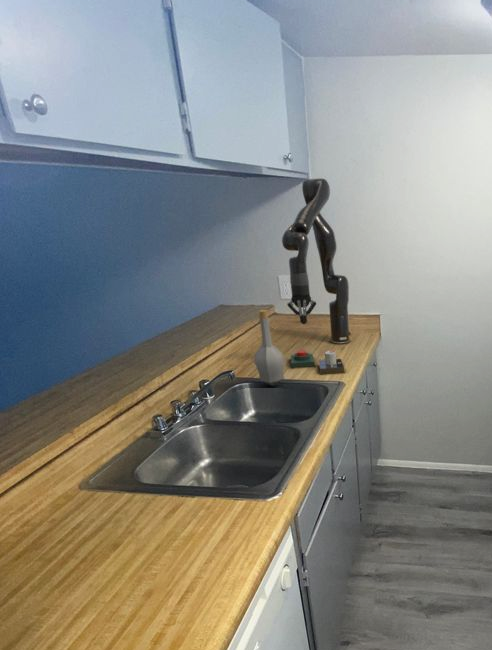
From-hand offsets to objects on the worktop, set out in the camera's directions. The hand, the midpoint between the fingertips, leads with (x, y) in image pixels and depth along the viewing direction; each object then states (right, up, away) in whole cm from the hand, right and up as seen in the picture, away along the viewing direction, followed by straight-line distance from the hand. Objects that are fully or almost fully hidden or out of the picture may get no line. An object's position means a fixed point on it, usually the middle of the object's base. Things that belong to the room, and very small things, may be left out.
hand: (303, 323), depth 209 cm
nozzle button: (-2, -13, +5) cm, 14 cm away
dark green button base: (-2, -16, +6) cm, 18 cm away
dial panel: (+12, -20, -1) cm, 24 cm away
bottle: (-8, -30, -19) cm, 37 cm away
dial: (+12, -18, -2) cm, 22 cm away
